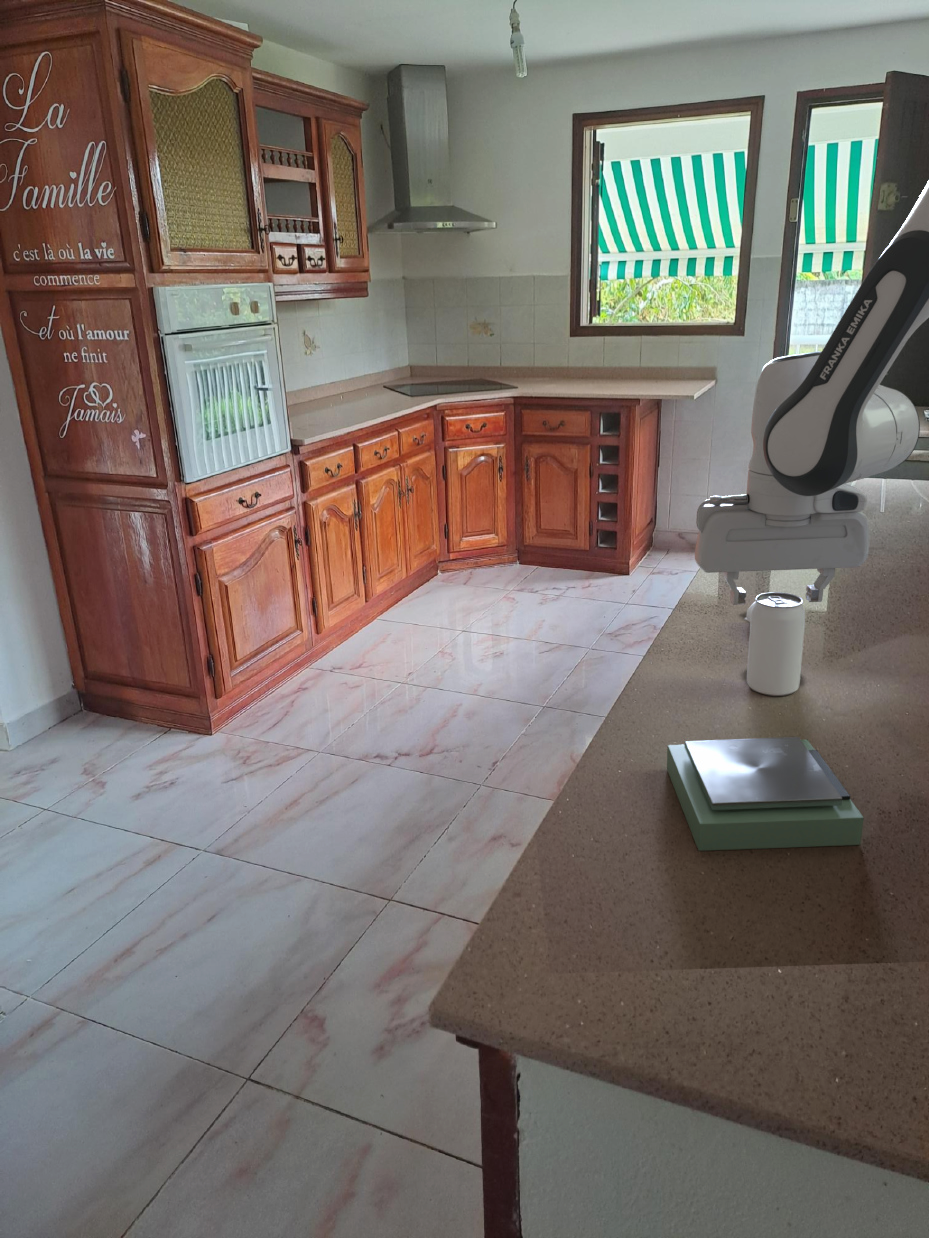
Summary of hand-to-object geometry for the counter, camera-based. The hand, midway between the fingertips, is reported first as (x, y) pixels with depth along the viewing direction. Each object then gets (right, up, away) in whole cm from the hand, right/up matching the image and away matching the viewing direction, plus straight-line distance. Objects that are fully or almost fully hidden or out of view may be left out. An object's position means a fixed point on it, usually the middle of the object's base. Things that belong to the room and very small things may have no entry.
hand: (775, 602), depth 110 cm
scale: (-9, -21, -21) cm, 31 cm away
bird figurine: (+6, -4, +22) cm, 23 cm away
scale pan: (-10, -18, -22) cm, 30 cm away
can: (+1, -11, +4) cm, 12 cm away
